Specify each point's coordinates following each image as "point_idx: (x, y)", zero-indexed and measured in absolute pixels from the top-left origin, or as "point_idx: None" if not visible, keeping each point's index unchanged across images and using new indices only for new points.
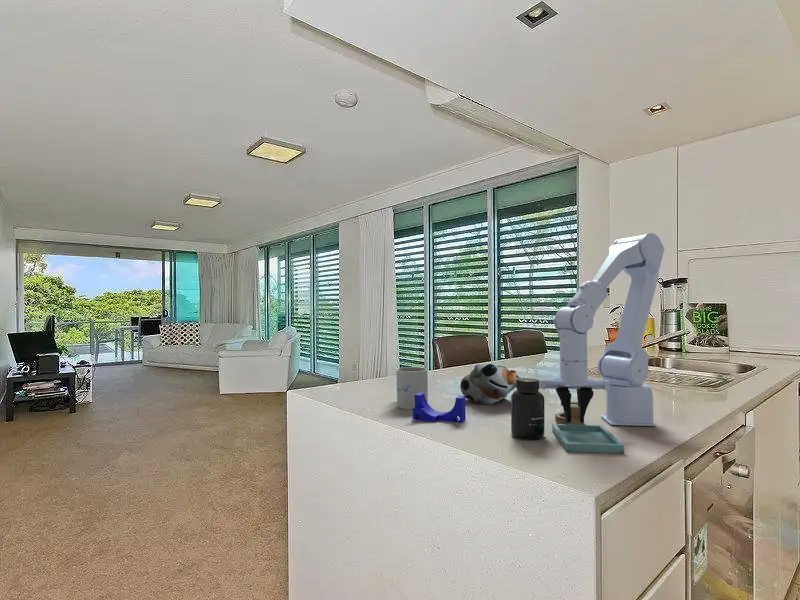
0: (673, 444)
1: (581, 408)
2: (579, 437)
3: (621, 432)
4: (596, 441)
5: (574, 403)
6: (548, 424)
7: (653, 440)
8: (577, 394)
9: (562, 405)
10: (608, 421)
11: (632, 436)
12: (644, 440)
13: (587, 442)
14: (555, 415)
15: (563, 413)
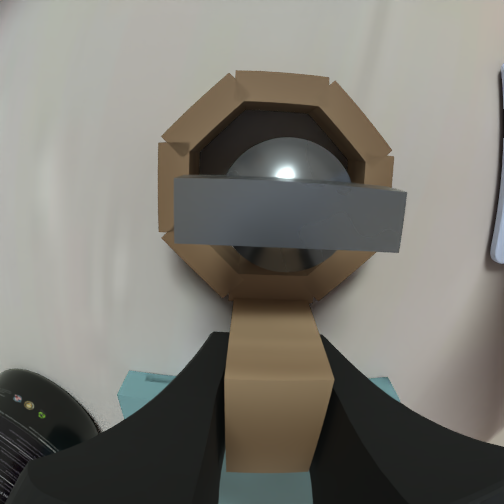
0: (495, 433)
1: (310, 477)
2: (234, 473)
3: (462, 361)
4: (283, 495)
5: (356, 244)
6: (114, 241)
7: (483, 419)
8: (369, 484)
9: (164, 391)
10: (501, 223)
11: (461, 400)
12: (461, 428)
13: (247, 500)
14: (160, 160)
15: (246, 101)
